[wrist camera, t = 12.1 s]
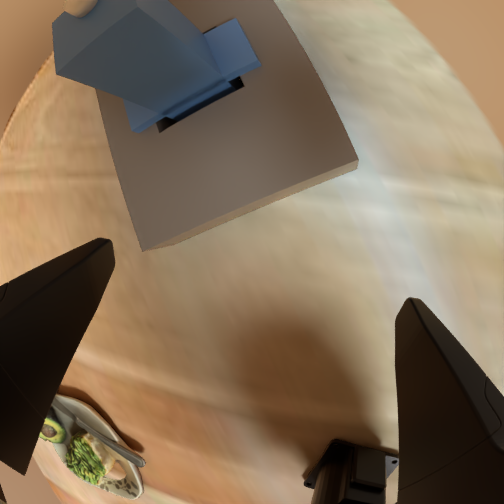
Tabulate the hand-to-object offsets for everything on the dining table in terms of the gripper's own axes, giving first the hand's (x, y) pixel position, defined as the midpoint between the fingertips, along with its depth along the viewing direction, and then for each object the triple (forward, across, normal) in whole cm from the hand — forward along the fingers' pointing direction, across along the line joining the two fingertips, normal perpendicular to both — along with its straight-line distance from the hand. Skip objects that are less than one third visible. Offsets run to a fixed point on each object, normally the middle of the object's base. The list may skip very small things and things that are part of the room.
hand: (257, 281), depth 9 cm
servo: (+16, +6, -2) cm, 17 cm away
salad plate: (+2, +18, +35) cm, 40 cm away
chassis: (+16, +6, -2) cm, 17 cm away
